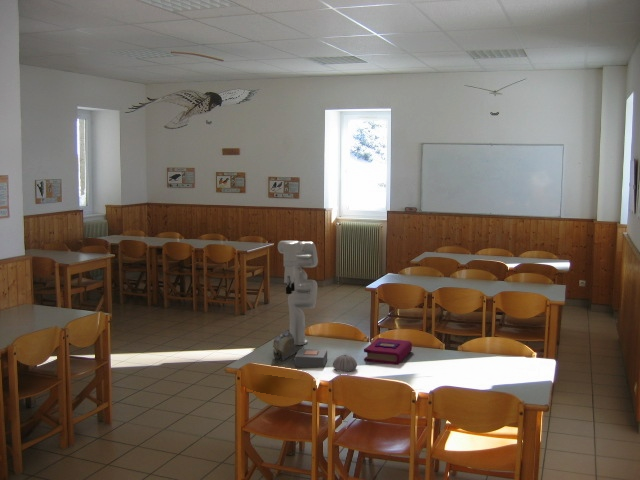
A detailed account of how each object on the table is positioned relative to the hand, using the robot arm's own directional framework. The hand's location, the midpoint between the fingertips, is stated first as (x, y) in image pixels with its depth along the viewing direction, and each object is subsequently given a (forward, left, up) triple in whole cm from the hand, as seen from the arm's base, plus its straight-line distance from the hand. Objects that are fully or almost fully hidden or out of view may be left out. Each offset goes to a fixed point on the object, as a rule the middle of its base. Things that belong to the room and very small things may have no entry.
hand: (290, 292), depth 392 cm
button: (+19, +15, -34) cm, 41 cm away
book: (+2, +57, -37) cm, 68 cm away
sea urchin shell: (+29, +35, -37) cm, 58 cm away
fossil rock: (+9, -4, -37) cm, 38 cm away
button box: (+19, +15, -36) cm, 44 cm away
